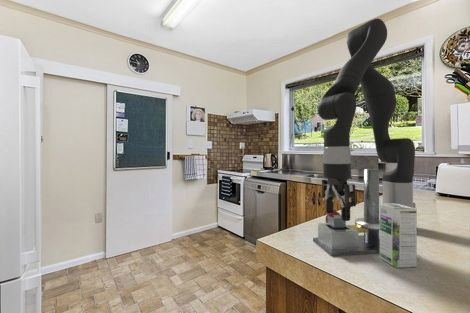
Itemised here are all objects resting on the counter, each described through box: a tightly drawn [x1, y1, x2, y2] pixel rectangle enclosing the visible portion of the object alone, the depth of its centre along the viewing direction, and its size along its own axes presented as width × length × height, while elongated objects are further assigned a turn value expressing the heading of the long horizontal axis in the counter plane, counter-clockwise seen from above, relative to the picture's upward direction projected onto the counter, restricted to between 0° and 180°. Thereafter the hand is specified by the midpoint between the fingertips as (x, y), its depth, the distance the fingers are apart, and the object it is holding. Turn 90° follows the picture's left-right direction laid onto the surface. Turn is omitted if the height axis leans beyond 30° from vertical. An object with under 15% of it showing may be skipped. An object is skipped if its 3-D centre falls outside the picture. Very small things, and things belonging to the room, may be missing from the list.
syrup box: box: [379, 203, 418, 269], centre depth 57 cm, size 6×6×14 cm
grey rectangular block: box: [328, 214, 347, 230], centre depth 68 cm, size 4×4×8 cm
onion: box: [325, 207, 341, 223], centre depth 82 cm, size 6×6×8 cm
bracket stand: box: [312, 168, 380, 257], centre depth 68 cm, size 20×11×23 cm, turn 96°
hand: (337, 216), depth 67 cm, fingers open, 8 cm apart
